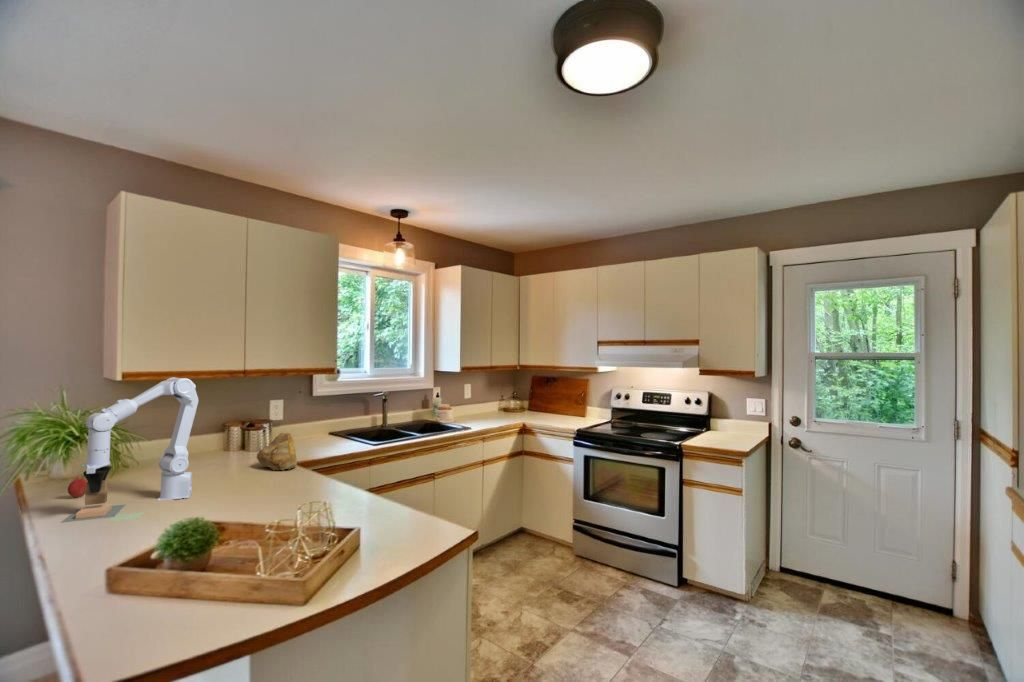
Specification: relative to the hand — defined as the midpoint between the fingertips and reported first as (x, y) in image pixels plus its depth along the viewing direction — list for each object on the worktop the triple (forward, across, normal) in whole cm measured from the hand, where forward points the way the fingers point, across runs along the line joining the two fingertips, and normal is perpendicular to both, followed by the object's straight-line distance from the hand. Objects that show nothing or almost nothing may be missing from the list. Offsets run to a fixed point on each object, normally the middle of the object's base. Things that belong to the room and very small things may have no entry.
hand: (96, 491), depth 156 cm
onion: (+8, -23, -11) cm, 27 cm away
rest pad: (+7, +9, +10) cm, 15 cm away
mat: (+7, +1, 0) cm, 7 cm away
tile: (+6, -2, 0) cm, 7 cm away
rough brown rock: (+8, -50, +54) cm, 73 cm away
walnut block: (+4, 0, 0) cm, 4 cm away
